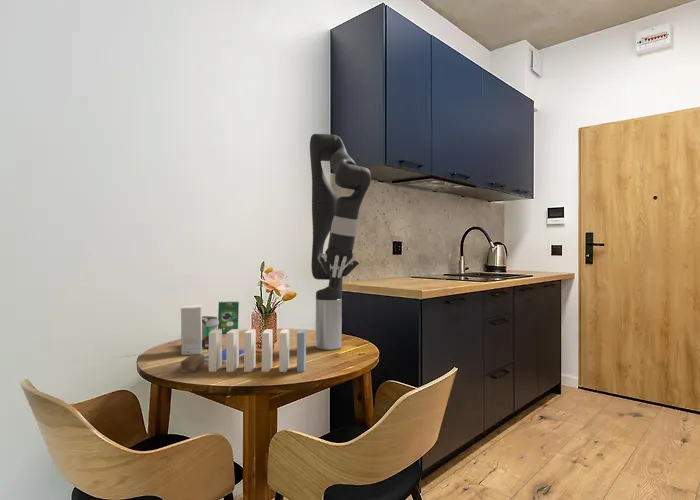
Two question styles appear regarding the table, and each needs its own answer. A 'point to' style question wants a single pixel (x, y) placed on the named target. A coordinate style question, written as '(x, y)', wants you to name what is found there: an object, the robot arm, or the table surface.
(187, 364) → the block
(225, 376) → the table surface
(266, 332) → the domino
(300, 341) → the domino
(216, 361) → the domino
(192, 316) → the skincare box
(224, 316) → the coffee box
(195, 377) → the table surface
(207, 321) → the food container
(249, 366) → the domino
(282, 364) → the domino
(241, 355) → the hard drive
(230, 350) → the domino
